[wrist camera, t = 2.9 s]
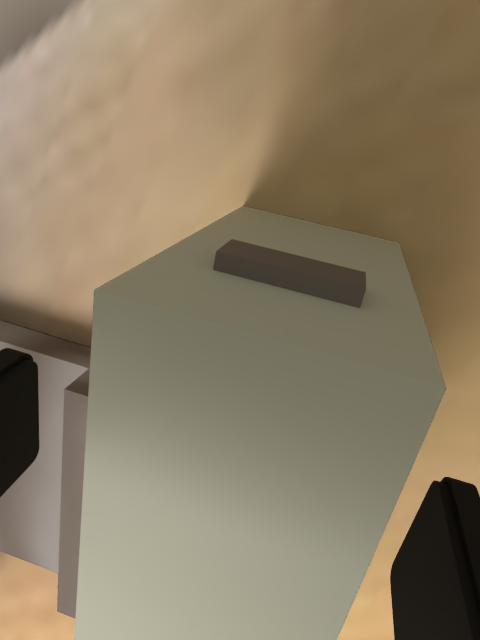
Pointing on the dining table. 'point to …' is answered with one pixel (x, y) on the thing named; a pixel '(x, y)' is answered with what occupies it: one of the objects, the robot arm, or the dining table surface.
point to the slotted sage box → (248, 431)
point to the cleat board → (51, 463)
